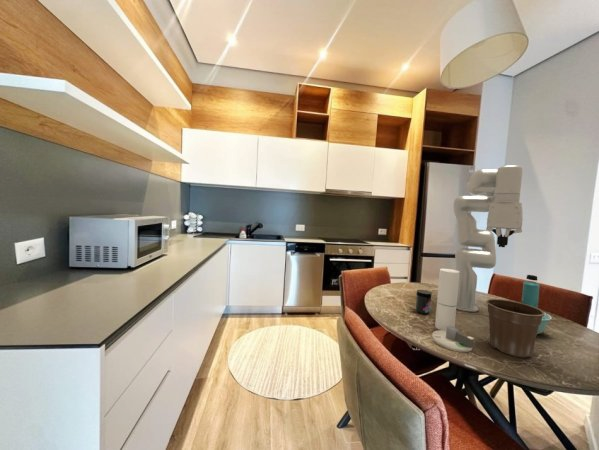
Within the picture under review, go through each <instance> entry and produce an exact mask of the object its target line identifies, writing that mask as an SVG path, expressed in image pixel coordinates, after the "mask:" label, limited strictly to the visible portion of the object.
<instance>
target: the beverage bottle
mask: <svg viewBox="0 0 599 450" xmlns="http://www.w3.org/2000/svg"><path fill="white" fill-rule="evenodd" d="M537 281H538V276H537V275H532V274H527V275H526V281H524V282H522V283H523V286H522V295H521V303H523V304H526V305H530V306H533V307H535V308H538V309H539V298H540V295H539V294H540V287H541V286H540V284H539V283H538V282H537Z"/></svg>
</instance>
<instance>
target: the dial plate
mask: <svg viewBox="0 0 599 450" xmlns="http://www.w3.org/2000/svg"><path fill="white" fill-rule="evenodd" d="M432 340H433V342H434V343H436V344H437V345H439V346H440V347H442V348H444V349H447V350H451V351H454V352H459V353H468V352H471V351H473V348H469V347H468V346H466V345H464V344H462V343H460V342H458V341H455V340H450V339H448V338H447V337H446V331H443V330H439V329H438V330H435V331H433V332H432Z"/></svg>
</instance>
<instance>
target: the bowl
mask: <svg viewBox="0 0 599 450" xmlns="http://www.w3.org/2000/svg"><path fill="white" fill-rule="evenodd" d="M544 313H545V314H544V316H542V320H541V324H540V325H539V327H538V332H537V335H539V334H542V333H543V332H544V330H545V329H546V328H547V327H548V325H549V323H550V322H551V320H552V316H551V315H550V314H548V313H546V312H544Z"/></svg>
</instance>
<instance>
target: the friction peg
mask: <svg viewBox="0 0 599 450" xmlns="http://www.w3.org/2000/svg"><path fill="white" fill-rule="evenodd" d="M446 337H447V338H448V339H450V340H455V341H458V342H460V343H462V344H464V345H466V346H468V347H469V348H472V349H473V348H474V342H475V338H474V337H473V336H469V335H467V334H465V333H463V332H460V329H458V327H451V326H448V327H447V329H446Z"/></svg>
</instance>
